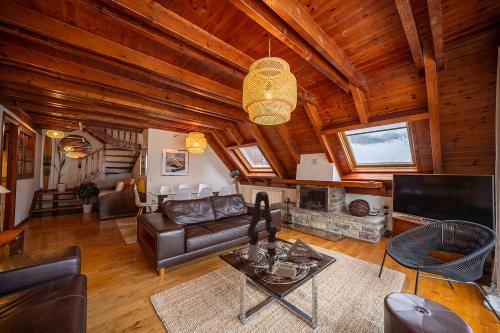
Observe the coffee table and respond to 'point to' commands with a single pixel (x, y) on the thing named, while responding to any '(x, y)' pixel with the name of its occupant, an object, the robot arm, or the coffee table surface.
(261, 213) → the robot arm
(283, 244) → the coffee table surface
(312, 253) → the wall bracket
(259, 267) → the coffee table surface
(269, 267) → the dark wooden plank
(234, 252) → the coffee table surface
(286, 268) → the well board
